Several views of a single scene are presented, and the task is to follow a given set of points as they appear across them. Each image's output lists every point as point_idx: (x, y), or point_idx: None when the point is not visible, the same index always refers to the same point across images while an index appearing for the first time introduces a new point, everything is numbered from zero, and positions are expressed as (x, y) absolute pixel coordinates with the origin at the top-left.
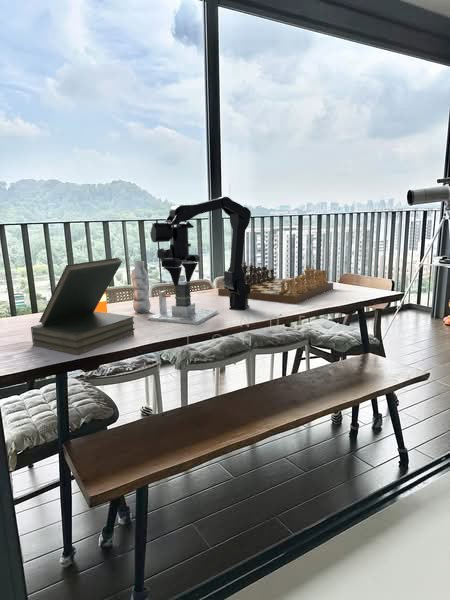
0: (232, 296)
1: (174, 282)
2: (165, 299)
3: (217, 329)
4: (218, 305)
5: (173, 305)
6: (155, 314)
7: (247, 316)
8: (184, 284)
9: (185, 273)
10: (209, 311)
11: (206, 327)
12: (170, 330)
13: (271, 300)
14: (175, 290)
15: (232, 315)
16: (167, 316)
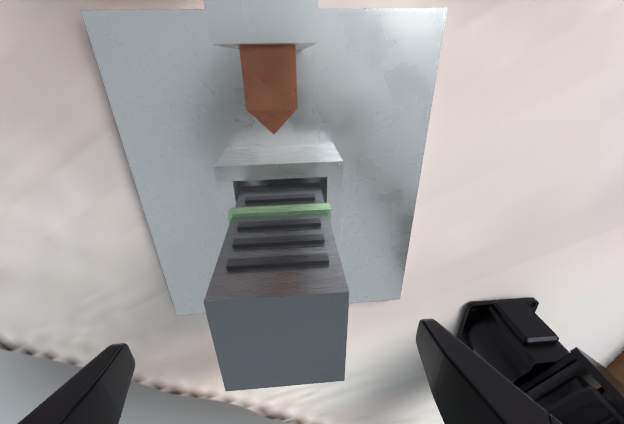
0: (516, 356)
1: (72, 394)
2: (297, 47)
3: (163, 379)
4: (552, 230)
5: (229, 174)
6: (185, 17)
7: (363, 383)
8: (228, 387)
9: (495, 419)
10: (368, 279)
11: (164, 346)
12: (29, 262)
13: (612, 369)
14: (220, 253)
15: (365, 346)
16: (183, 139)
